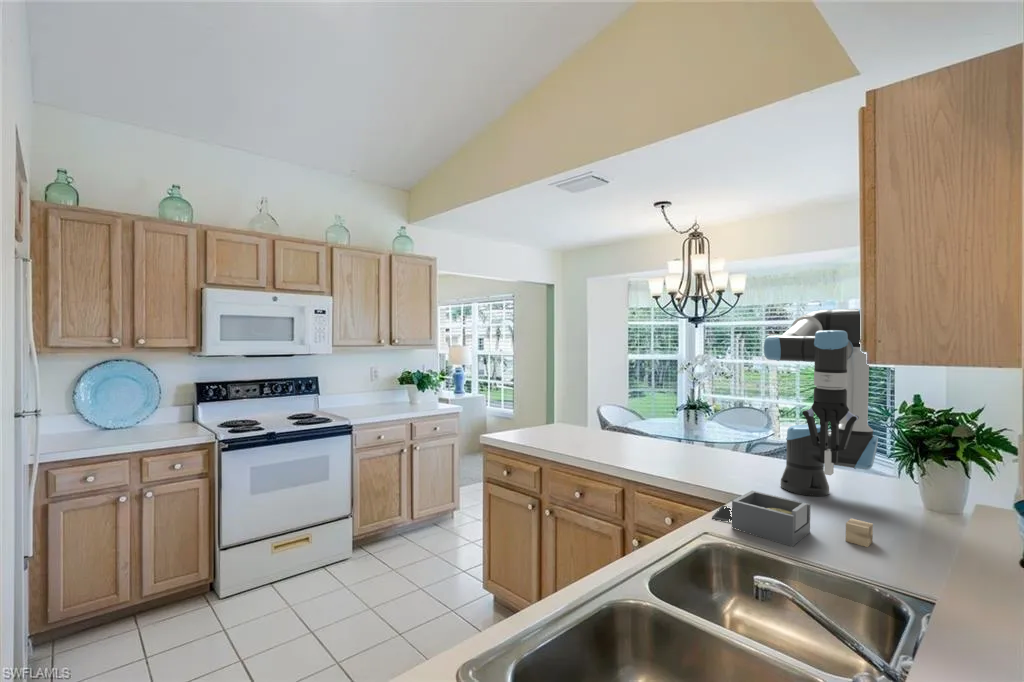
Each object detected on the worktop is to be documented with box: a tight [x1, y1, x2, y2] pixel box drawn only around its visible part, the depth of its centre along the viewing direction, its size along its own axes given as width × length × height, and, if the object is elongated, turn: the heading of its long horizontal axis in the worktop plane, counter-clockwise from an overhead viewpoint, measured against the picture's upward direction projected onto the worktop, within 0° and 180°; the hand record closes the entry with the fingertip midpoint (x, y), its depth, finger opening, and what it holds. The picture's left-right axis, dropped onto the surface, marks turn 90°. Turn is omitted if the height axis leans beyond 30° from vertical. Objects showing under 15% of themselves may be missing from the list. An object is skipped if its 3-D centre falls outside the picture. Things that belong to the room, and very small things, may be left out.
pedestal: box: [845, 517, 874, 548], centre depth 134 cm, size 5×5×5 cm
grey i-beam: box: [764, 502, 808, 531], centre depth 141 cm, size 9×14×5 cm, turn 42°
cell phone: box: [711, 505, 732, 522], centre depth 153 cm, size 7×14×1 cm, turn 144°
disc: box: [767, 508, 792, 515], centre depth 140 cm, size 8×8×2 cm
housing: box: [731, 490, 812, 547], centre depth 142 cm, size 14×16×8 cm
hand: (828, 473), depth 135 cm, fingers closed
